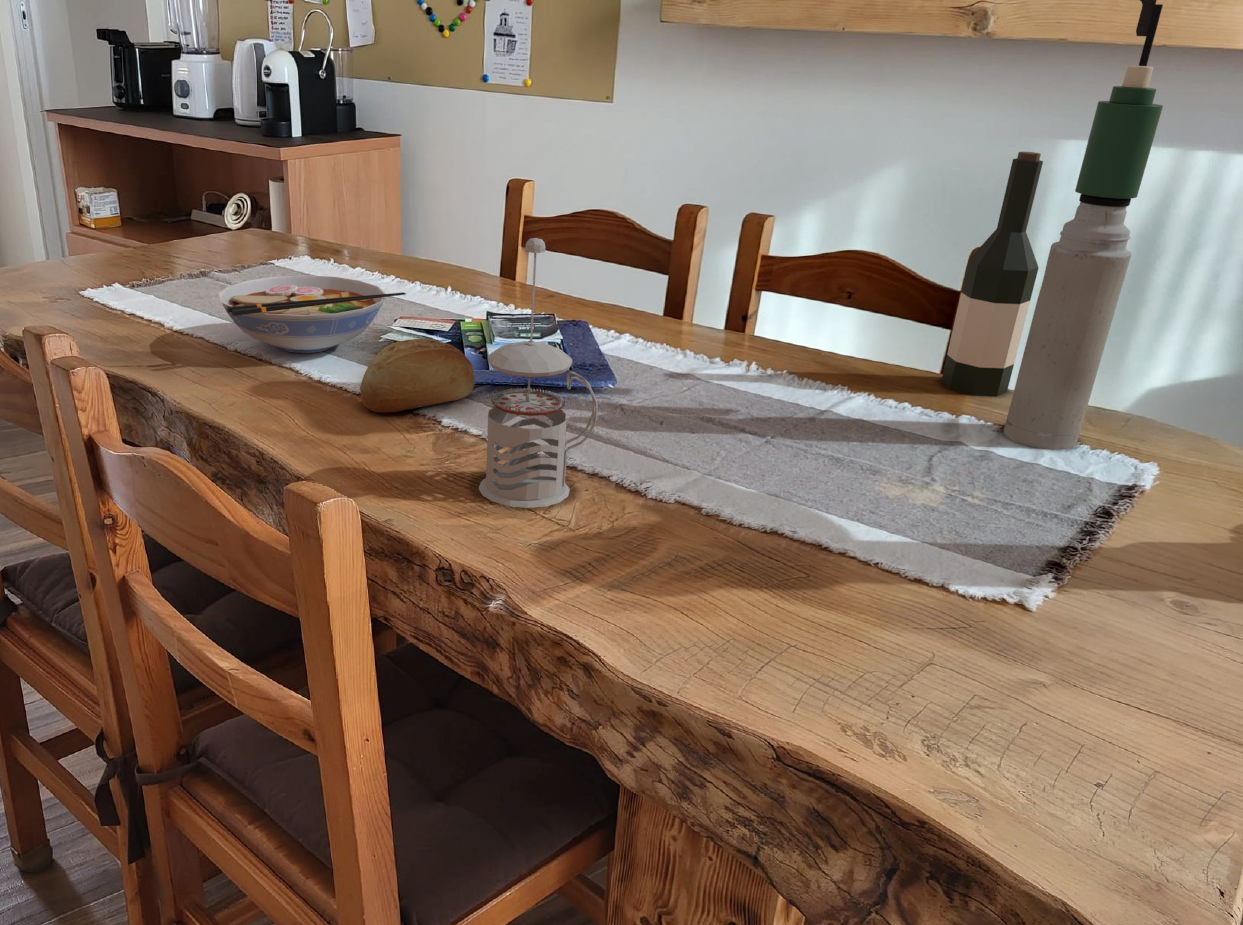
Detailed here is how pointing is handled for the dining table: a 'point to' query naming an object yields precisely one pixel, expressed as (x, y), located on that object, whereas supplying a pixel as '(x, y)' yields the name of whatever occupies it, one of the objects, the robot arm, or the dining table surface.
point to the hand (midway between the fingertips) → (1211, 73)
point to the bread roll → (416, 376)
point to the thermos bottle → (1070, 325)
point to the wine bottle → (996, 293)
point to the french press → (529, 423)
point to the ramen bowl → (303, 310)
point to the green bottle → (1121, 138)
